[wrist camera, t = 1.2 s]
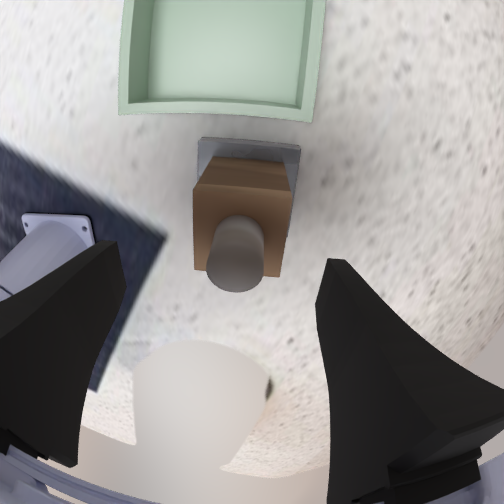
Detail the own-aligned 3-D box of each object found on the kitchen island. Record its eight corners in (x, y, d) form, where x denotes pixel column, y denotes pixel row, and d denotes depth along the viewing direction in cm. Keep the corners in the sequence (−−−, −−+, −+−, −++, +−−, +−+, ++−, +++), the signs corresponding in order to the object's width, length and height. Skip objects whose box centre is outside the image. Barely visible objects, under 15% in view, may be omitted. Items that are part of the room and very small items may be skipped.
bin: (302, 114, 16) (311, 123, 13) (142, 107, 16) (118, 115, 13) (317, -28, 11) (329, -48, 8) (153, -30, 10) (132, -47, 8)
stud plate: (286, 228, 21) (291, 272, 16) (200, 221, 20) (185, 263, 16) (298, 145, 17) (310, 169, 13) (202, 137, 17) (182, 158, 13)
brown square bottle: (275, 224, 19) (281, 313, 12) (210, 218, 19) (183, 304, 12) (283, 162, 17) (298, 226, 10) (212, 156, 17) (177, 216, 10)
